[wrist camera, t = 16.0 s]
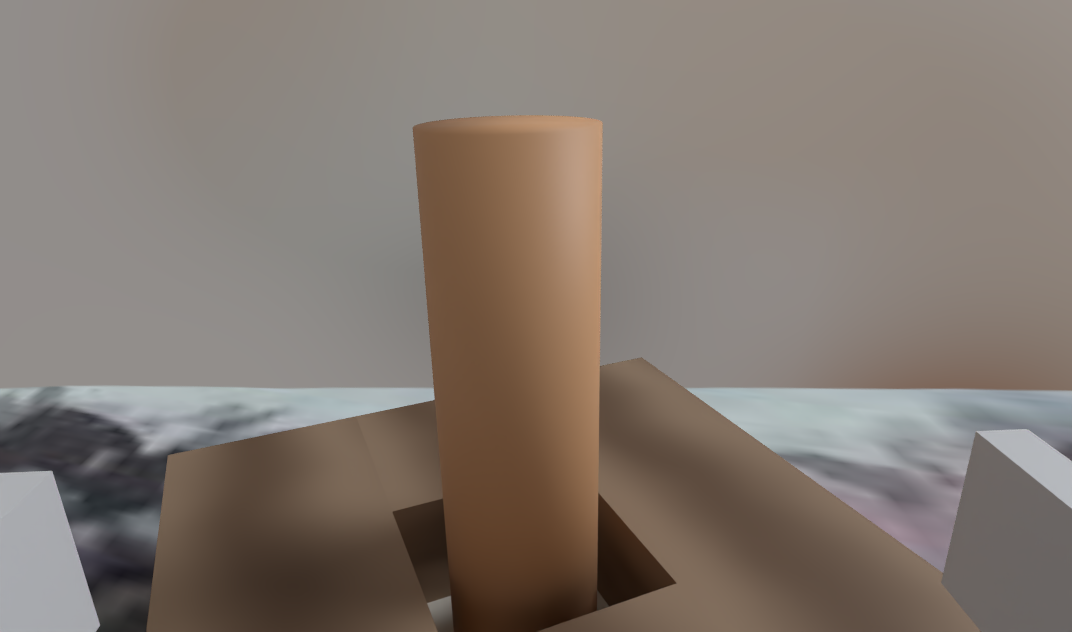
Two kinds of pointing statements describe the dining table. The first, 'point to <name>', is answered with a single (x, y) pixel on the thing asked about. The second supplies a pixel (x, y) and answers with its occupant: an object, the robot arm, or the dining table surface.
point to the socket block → (623, 531)
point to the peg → (515, 360)
